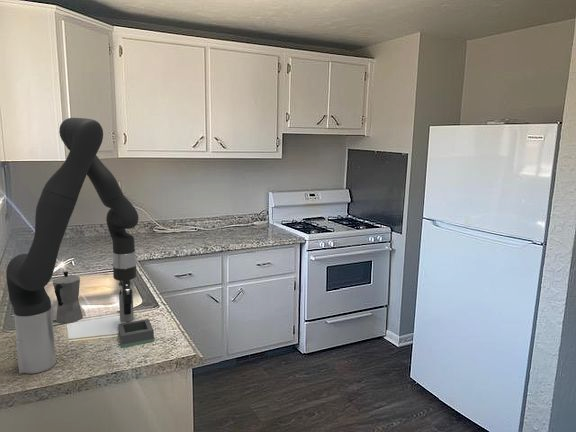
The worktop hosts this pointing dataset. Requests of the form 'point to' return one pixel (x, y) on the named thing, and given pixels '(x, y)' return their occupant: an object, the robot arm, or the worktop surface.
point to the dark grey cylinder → (123, 317)
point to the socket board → (135, 333)
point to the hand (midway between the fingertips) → (126, 311)
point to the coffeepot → (67, 298)
